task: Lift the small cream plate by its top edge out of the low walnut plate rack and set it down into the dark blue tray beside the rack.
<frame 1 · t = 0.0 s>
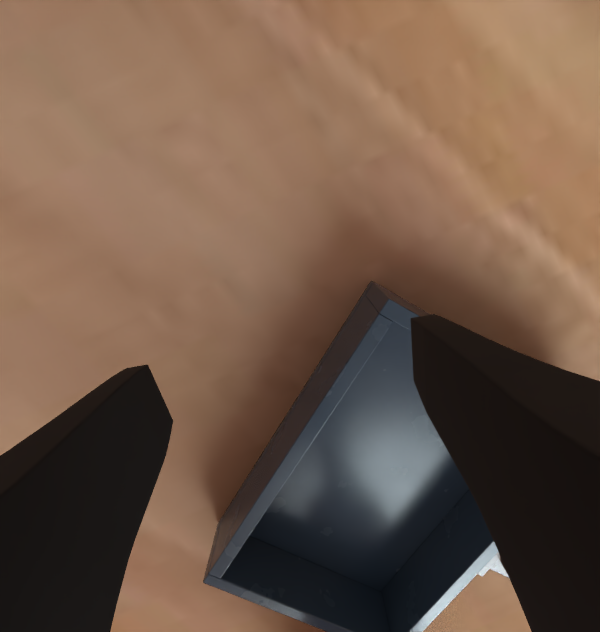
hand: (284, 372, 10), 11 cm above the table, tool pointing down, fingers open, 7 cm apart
plate rack: (558, 534, 25), on the table
dark blue tray: (377, 460, 23), on the table
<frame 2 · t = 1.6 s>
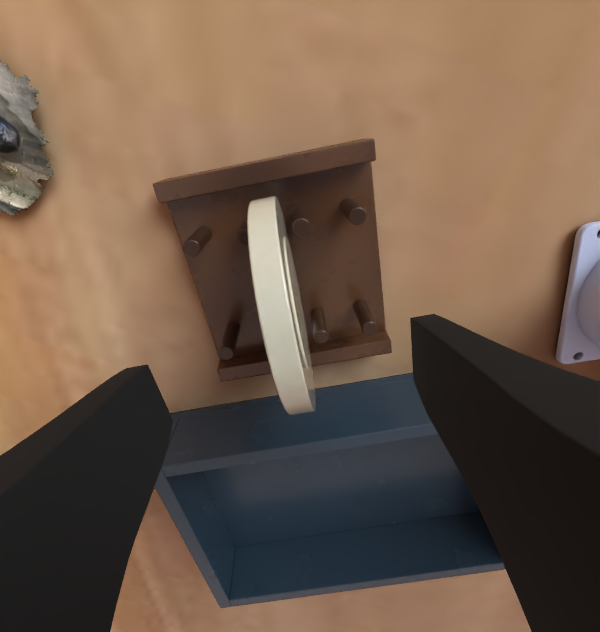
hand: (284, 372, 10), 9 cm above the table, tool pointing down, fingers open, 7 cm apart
plate: (286, 271, 17), point 1 cm above the table, touching plate rack
plate rack: (286, 267, 18), on the table
dark blue tray: (343, 466, 24), on the table
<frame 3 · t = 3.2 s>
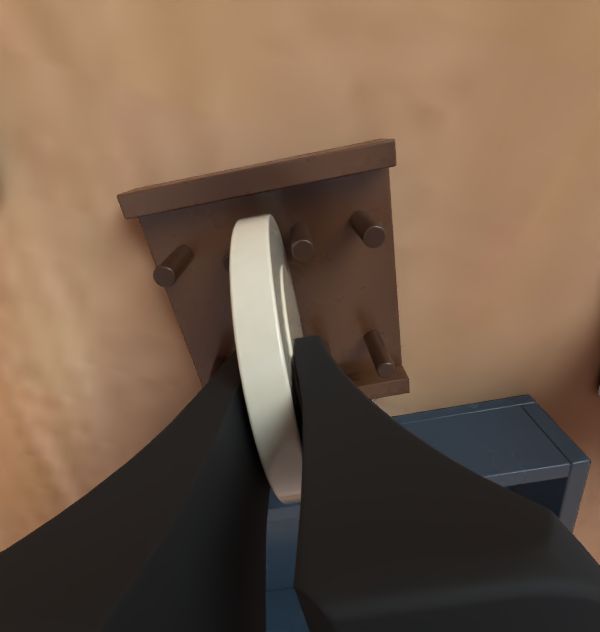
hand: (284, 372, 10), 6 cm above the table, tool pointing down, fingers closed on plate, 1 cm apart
plate: (284, 298, 14), point 1 cm above the table, touching gripper
plate rack: (284, 292, 15), on the table
dark blue tray: (349, 510, 21), on the table
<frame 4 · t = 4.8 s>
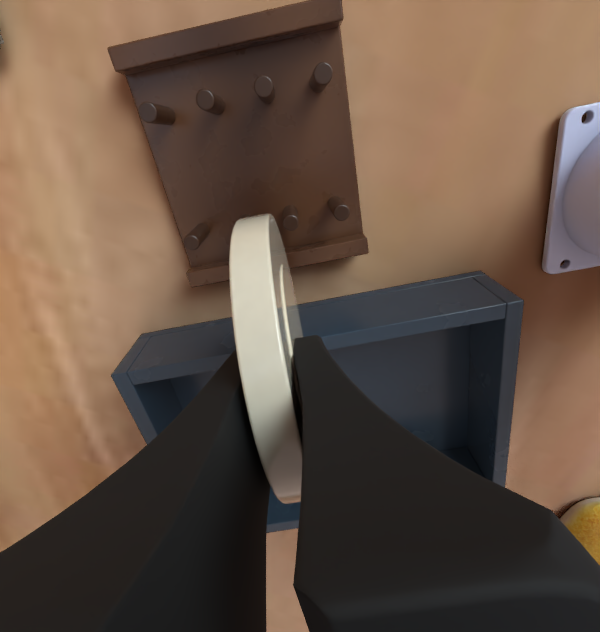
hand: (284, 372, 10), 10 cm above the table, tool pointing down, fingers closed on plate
plate: (284, 298, 14), point 5 cm above the table, touching gripper
plate rack: (256, 161, 17), on the table
dark blue tray: (325, 395, 23), on the table
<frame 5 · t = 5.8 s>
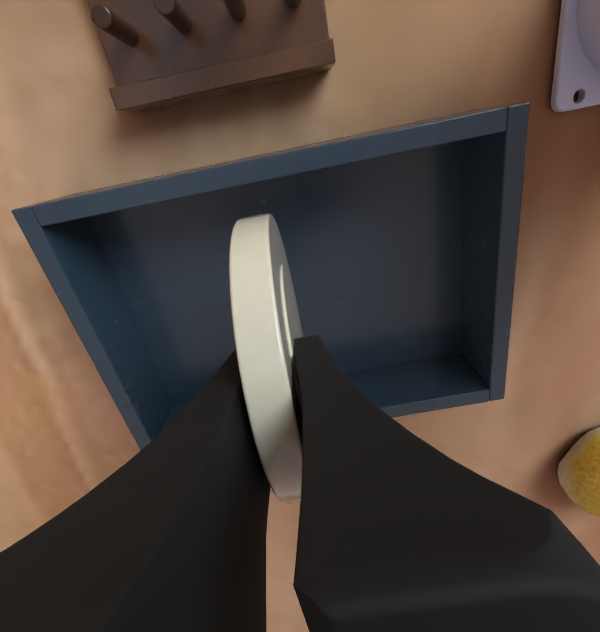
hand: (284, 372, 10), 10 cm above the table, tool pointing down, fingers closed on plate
plate: (284, 298, 14), point 5 cm above the table, touching gripper
dark blue tray: (294, 285, 20), on the table
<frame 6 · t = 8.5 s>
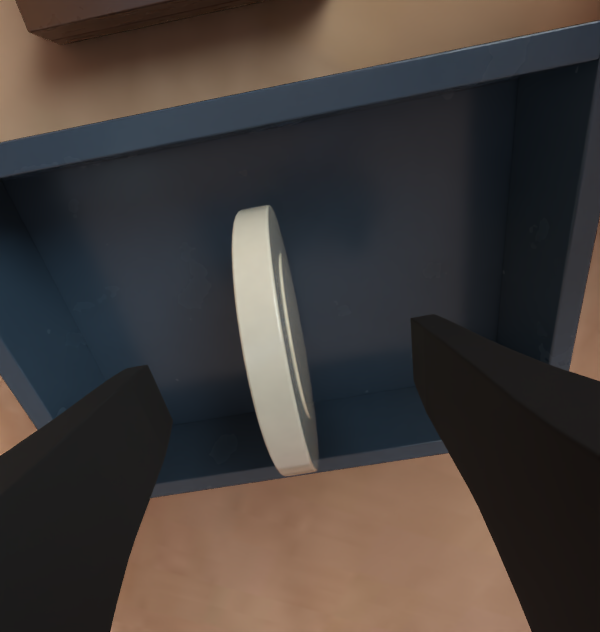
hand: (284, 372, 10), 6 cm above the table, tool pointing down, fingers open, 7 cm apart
plate: (284, 292, 15), point 1 cm above the table, touching dark blue tray
dark blue tray: (284, 286, 15), on the table
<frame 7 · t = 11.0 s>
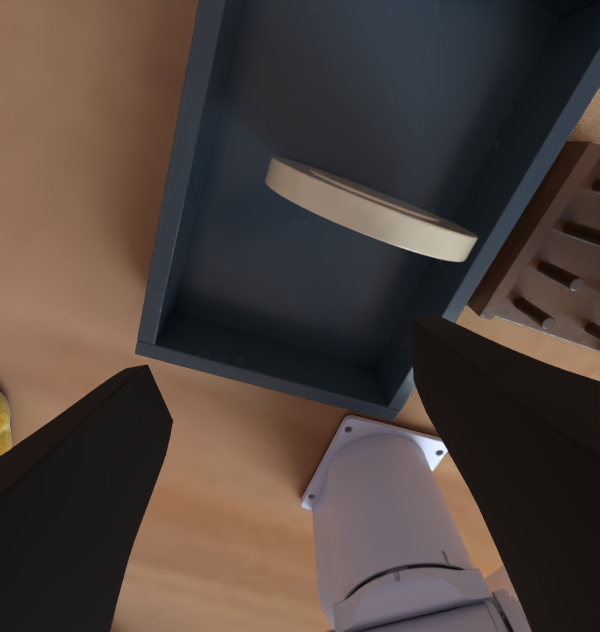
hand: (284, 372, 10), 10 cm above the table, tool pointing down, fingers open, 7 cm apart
plate: (338, 186, 17), point 1 cm above the table, tilted 10°, touching dark blue tray
plate rack: (586, 260, 20), on the table
dark blue tray: (337, 185, 18), on the table
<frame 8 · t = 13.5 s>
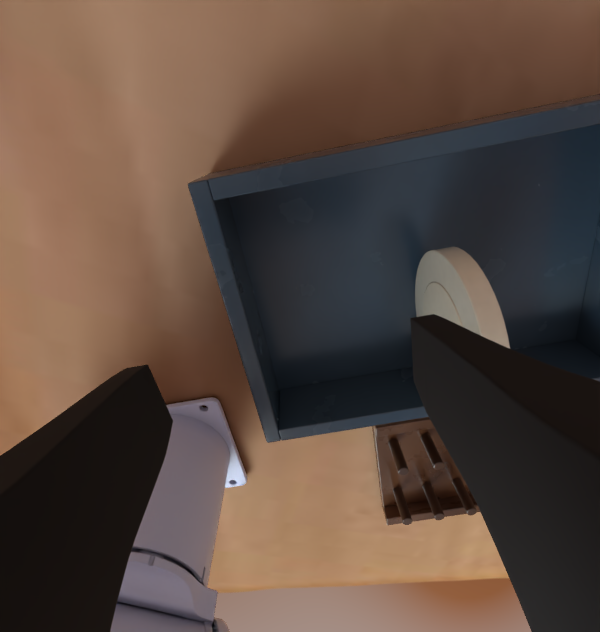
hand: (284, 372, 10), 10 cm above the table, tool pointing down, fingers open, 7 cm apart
plate: (424, 275, 19), point 1 cm above the table, tilted 24°, touching dark blue tray
plate rack: (438, 452, 26), on the table
dark blue tray: (417, 269, 20), on the table
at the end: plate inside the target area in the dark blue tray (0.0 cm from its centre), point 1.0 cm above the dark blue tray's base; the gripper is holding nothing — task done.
